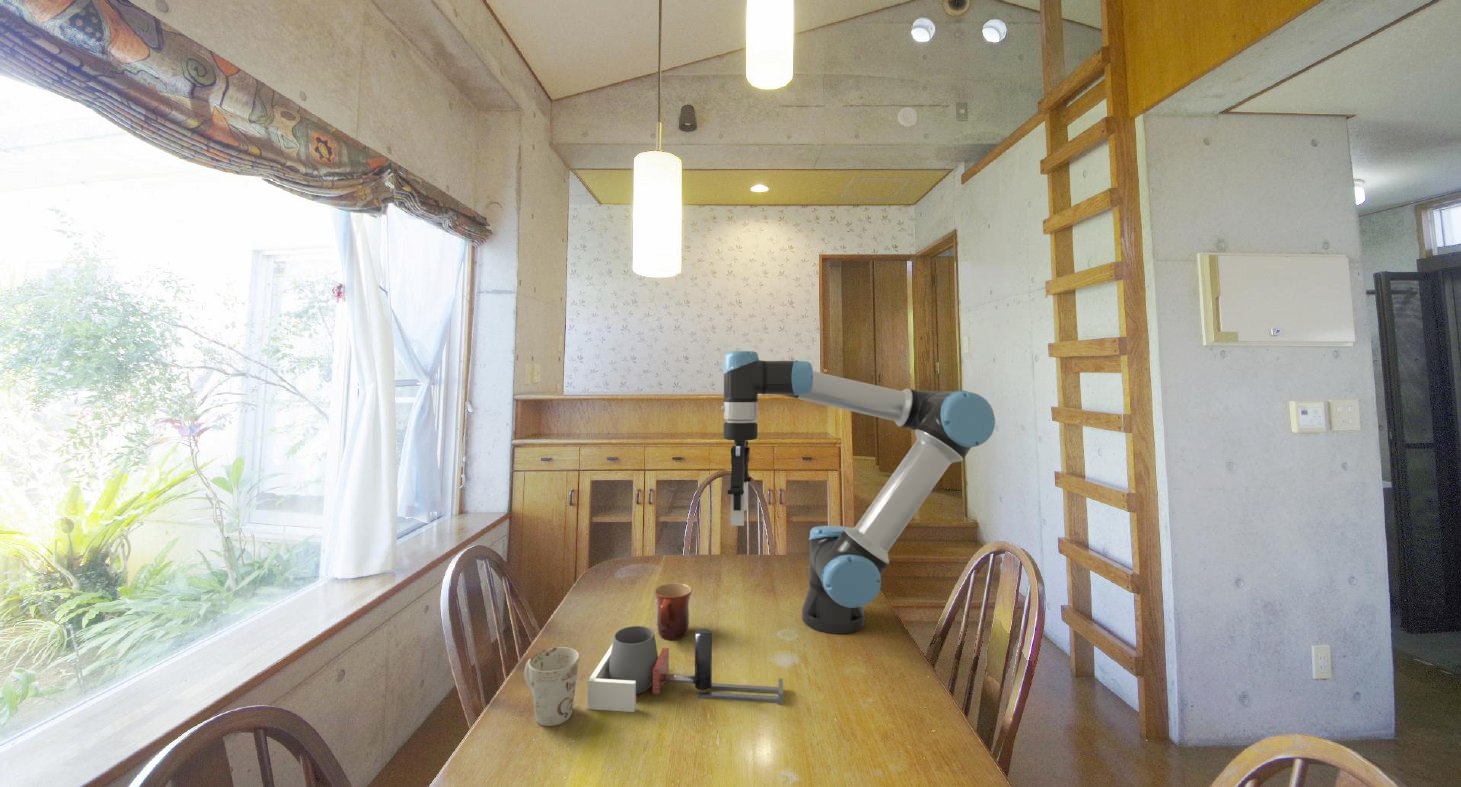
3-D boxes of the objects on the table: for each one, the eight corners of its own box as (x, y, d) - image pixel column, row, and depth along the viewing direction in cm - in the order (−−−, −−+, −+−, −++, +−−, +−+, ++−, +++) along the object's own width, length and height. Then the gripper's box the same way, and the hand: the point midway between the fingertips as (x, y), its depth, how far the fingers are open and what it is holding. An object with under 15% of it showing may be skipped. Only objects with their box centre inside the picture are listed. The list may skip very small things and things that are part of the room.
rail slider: (714, 674, 103) (714, 623, 103) (708, 698, 95) (709, 643, 95) (662, 671, 104) (662, 621, 104) (652, 694, 96) (653, 640, 96)
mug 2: (661, 623, 128) (661, 581, 128) (696, 627, 126) (696, 584, 126) (643, 647, 116) (643, 601, 116) (681, 651, 114) (681, 604, 114)
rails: (782, 689, 100) (782, 678, 100) (782, 704, 95) (782, 693, 95) (701, 684, 102) (701, 673, 102) (697, 699, 97) (697, 688, 97)
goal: (654, 667, 108) (654, 643, 108) (634, 712, 93) (634, 683, 93) (614, 665, 109) (614, 640, 109) (587, 709, 94) (587, 681, 94)
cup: (606, 678, 104) (606, 627, 104) (653, 670, 107) (653, 620, 107) (612, 705, 95) (612, 650, 95) (663, 695, 98) (663, 642, 98)
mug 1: (550, 737, 86) (550, 676, 86) (502, 712, 93) (502, 655, 93) (588, 711, 93) (589, 654, 93) (542, 689, 100) (542, 636, 100)
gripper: (729, 418, 129) (728, 504, 129) (716, 424, 104) (716, 531, 104) (759, 418, 128) (759, 505, 129) (754, 425, 104) (753, 533, 104)
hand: (739, 517), depth 116 cm, fingers open, 13 cm apart
